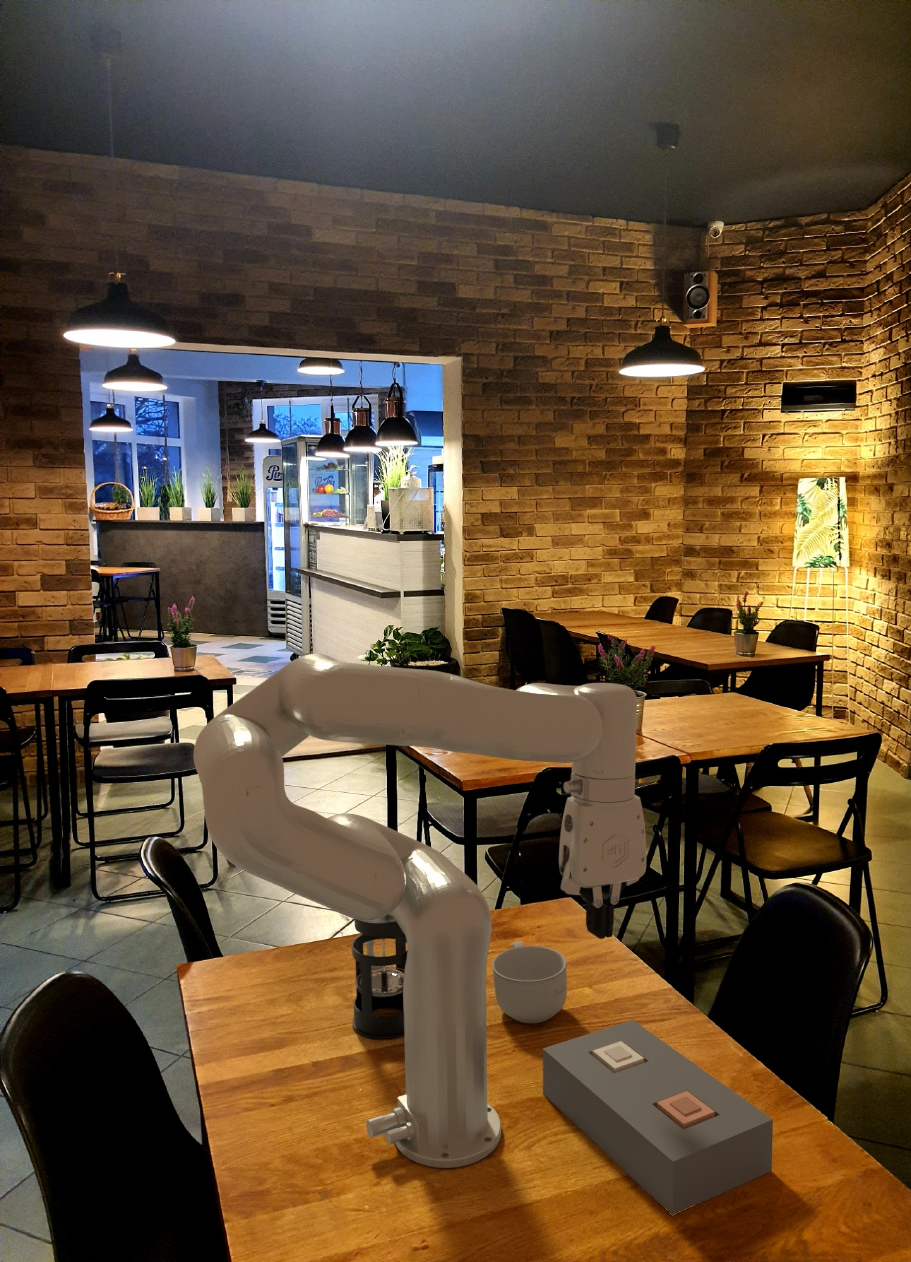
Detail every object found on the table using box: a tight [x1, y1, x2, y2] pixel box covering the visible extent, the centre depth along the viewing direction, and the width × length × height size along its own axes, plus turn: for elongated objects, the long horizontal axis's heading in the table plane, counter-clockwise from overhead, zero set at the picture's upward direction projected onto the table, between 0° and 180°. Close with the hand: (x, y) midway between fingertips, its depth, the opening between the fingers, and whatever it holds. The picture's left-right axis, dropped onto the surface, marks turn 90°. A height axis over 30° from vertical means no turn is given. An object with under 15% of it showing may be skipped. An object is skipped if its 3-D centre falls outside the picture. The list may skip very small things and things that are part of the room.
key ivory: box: [593, 1041, 644, 1073], centre depth 114 cm, size 4×4×3 cm
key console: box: [542, 1019, 774, 1215], centre depth 109 cm, size 14×24×6 cm, turn 28°
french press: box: [351, 914, 408, 1041], centre depth 133 cm, size 12×9×23 cm
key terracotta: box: [657, 1091, 715, 1130], centre depth 104 cm, size 4×4×3 cm
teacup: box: [491, 941, 568, 1024], centre depth 138 cm, size 14×11×8 cm
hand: (599, 933), depth 114 cm, fingers closed
